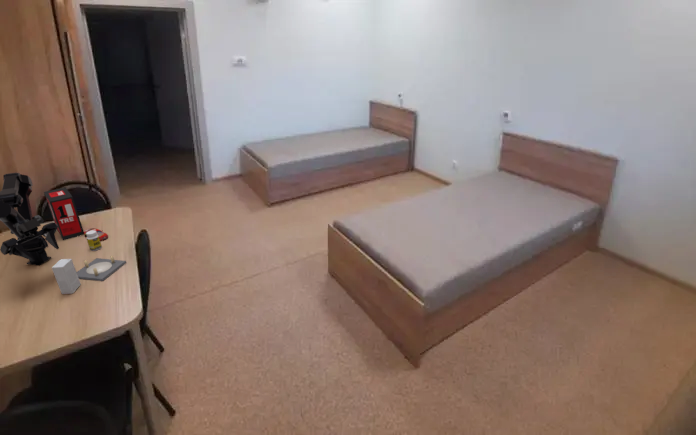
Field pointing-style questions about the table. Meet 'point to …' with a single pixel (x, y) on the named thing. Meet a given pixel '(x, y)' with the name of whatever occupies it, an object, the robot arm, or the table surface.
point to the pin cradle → (99, 269)
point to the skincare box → (66, 276)
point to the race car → (101, 234)
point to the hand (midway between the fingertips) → (46, 254)
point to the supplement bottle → (93, 240)
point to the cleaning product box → (64, 213)
